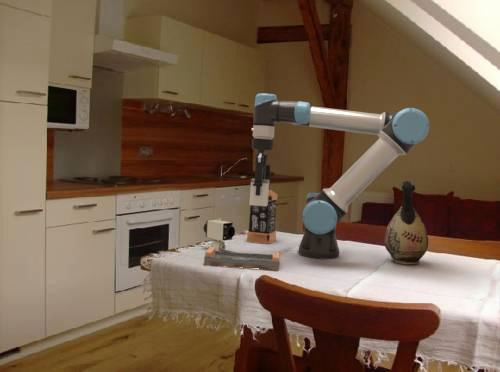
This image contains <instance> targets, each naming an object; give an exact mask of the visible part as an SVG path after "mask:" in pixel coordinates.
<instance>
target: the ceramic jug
mask: <svg viewBox="0 0 500 372" xmlns="http://www.w3.org/2000/svg"><path fill="white" fill-rule="evenodd" d="M401 190H402V193H403V196H402V197H403V200H402V204H401V206H400V208H398V210H397V212H396V213H395V214H394V215H393V216H392V217H391V220H390V221H389V222H388V225H387V227H386V230H385V234H384V238H383V239H384V241H383V242H384V247H385V249H386V251H387V252H388V254H389V255H390V257H391V259H392V261H393V260H394V261H395V262H394V263H396V262H397V263H396V264H399V263H401V264H400V265H419V264H420V259H422V258H423V257H424V256H425V254H427V250H428V249H429V248H428V247H429V235H428V232H427V228H426V226H425V224H424V221H423V220H422V218H421V217H420V215H419V214H418V211H417V210H416V209H415V208H414V205H413V192H415V190H416V186H415V185H414V184H412V183H411V181H409V180H405V181H403V182H402V186H401ZM418 263H419V264H418Z"/></svg>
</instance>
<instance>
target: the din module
mask: <svg viewBox="0 0 500 372" xmlns="http://www.w3.org/2000/svg"><path fill="white" fill-rule="evenodd" d="M254 182H255V178H252V179H250V193H249V204H248V205H249V206H251V205H253V203H254V189H255V186H253V184H254ZM262 187H263V188H262V202H261V205H256V206H267V205H268V194H269V180H264V179H263V181H262Z"/></svg>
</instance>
